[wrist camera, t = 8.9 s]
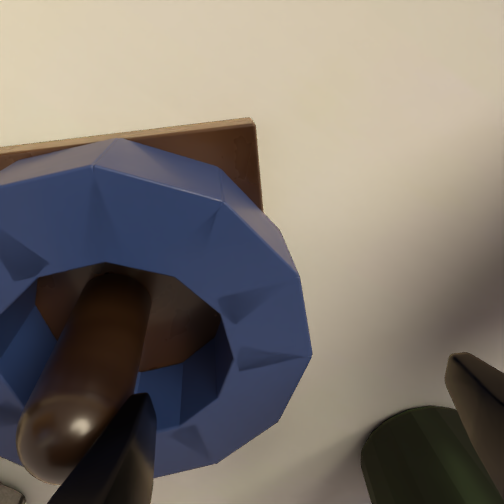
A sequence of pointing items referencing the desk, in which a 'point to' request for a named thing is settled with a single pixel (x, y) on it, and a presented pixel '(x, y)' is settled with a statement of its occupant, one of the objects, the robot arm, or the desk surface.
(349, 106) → the desk surface
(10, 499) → the phone
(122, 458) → the robot arm
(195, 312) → the post
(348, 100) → the desk surface
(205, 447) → the ring
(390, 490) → the potion bottle
